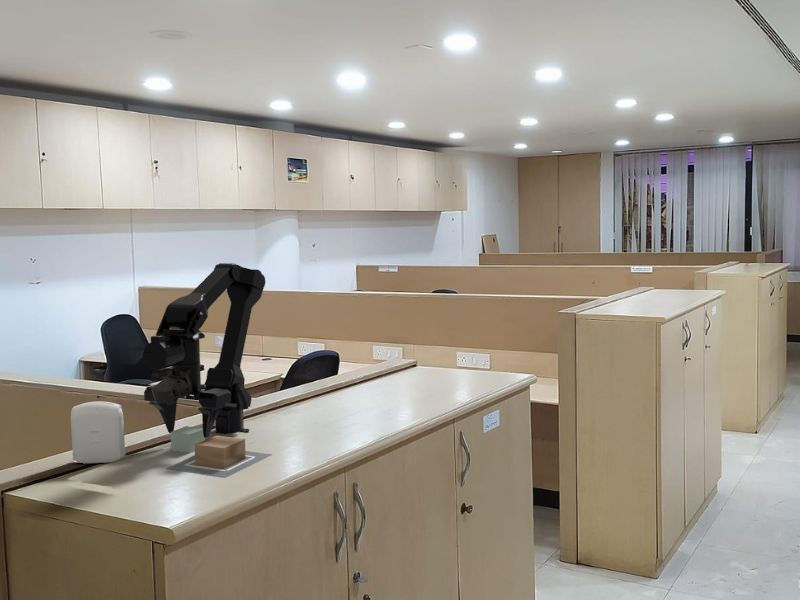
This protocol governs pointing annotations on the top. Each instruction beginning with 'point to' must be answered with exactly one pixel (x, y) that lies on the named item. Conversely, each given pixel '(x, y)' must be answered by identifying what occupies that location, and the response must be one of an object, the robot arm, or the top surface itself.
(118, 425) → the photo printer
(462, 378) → the top surface
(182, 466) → the board
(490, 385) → the top surface
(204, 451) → the walnut block
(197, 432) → the sage cube
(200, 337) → the robot arm
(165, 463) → the top surface
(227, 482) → the top surface
